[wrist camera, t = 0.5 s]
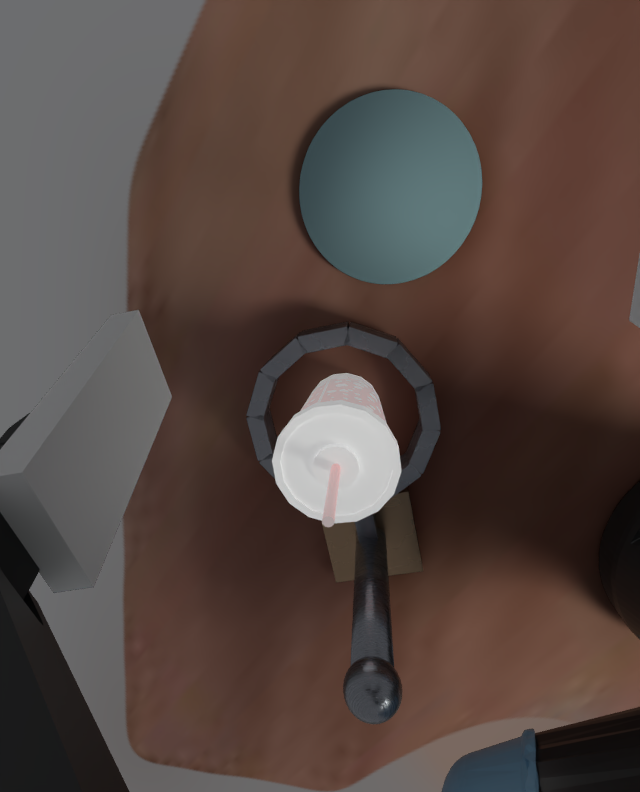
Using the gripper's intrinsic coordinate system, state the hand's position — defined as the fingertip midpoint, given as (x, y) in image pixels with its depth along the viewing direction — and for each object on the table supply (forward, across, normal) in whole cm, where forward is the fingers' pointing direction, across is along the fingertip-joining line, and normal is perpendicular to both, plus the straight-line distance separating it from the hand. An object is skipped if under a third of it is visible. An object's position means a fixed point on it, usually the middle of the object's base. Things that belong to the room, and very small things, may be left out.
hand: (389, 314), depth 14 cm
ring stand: (+14, +2, +15) cm, 21 cm away
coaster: (+18, -3, 0) cm, 18 cm away
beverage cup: (+15, +2, +12) cm, 19 cm away
